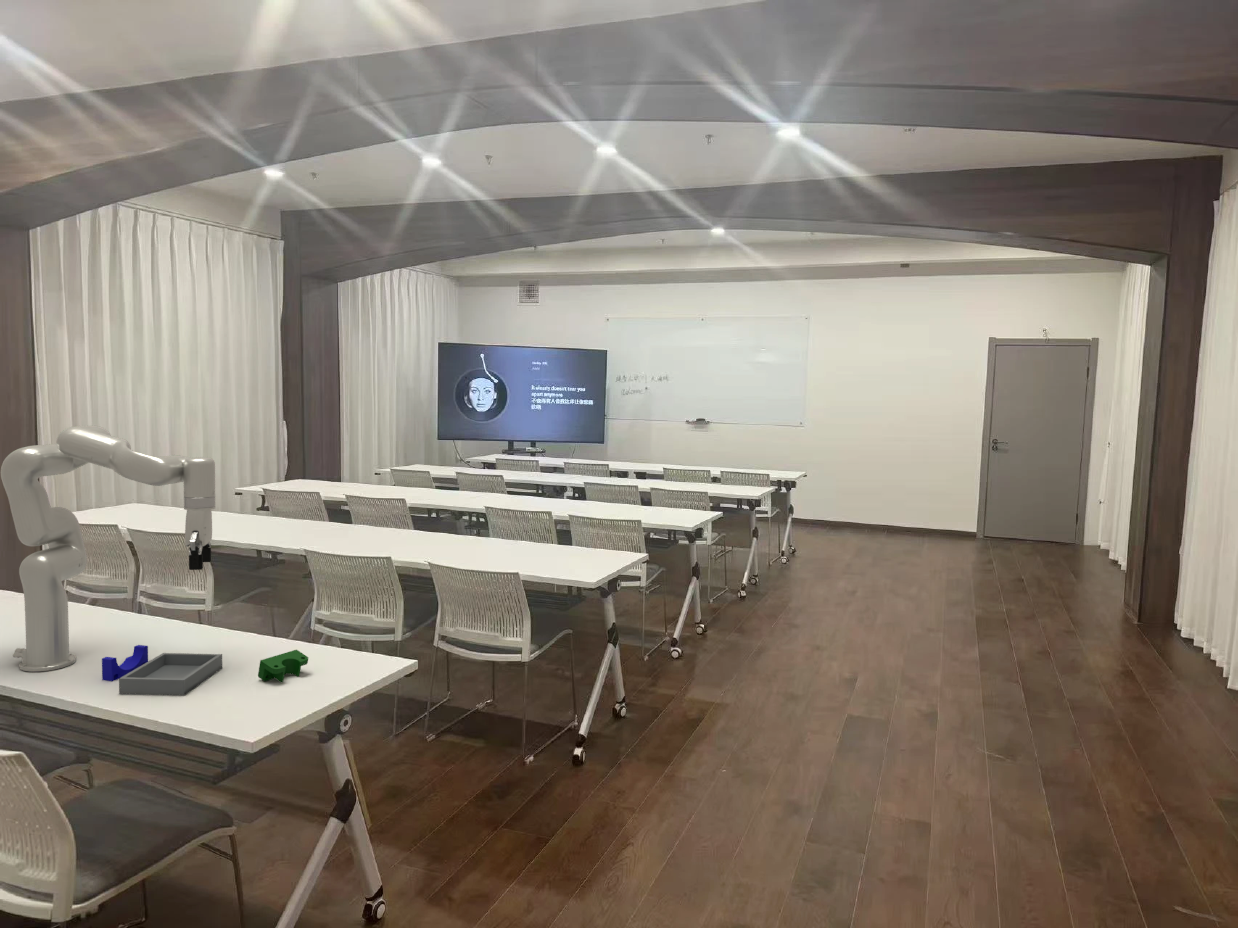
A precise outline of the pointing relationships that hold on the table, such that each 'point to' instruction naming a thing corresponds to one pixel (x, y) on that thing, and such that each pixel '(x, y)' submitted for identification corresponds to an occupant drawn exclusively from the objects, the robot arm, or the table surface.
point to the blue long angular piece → (124, 664)
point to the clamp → (282, 665)
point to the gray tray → (170, 674)
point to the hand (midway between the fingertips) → (200, 565)
